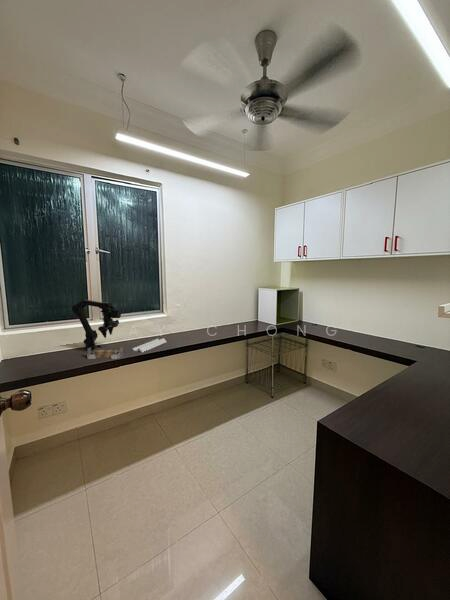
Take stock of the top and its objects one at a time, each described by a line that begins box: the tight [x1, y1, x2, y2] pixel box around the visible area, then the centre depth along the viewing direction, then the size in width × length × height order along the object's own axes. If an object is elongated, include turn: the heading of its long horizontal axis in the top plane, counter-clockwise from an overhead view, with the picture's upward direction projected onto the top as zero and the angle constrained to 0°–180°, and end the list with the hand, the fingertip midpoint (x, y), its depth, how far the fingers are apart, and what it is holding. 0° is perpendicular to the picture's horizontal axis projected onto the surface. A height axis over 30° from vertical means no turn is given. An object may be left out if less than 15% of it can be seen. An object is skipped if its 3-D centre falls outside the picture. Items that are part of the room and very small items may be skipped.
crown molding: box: [131, 337, 167, 353], centre depth 215 cm, size 31×12×4 cm, turn 155°
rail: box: [91, 349, 119, 359], centre depth 189 cm, size 18×4×5 cm, turn 89°
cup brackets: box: [87, 346, 124, 360], centre depth 189 cm, size 25×8×7 cm, turn 92°
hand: (108, 336), depth 202 cm, fingers open, 9 cm apart
